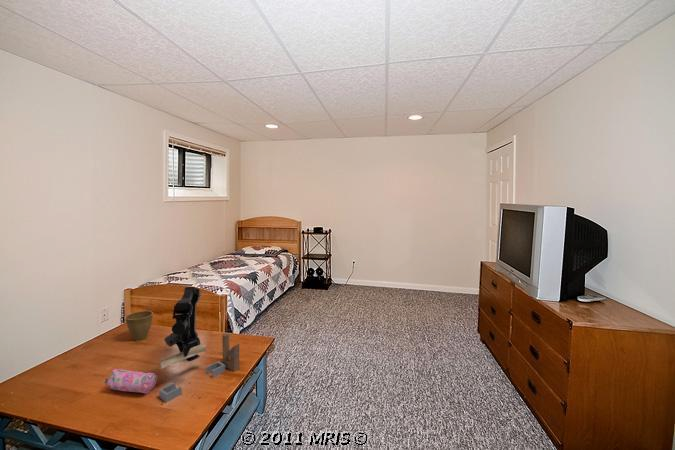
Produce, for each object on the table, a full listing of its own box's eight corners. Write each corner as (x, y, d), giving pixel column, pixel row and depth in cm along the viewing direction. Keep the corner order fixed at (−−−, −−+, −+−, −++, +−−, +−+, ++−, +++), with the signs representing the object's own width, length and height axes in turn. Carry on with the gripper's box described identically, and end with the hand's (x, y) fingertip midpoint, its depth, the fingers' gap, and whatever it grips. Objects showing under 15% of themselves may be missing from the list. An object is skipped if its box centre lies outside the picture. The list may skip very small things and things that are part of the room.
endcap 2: (225, 371, 152) (225, 365, 152) (213, 377, 146) (213, 371, 146) (218, 367, 156) (218, 361, 156) (206, 373, 150) (206, 366, 150)
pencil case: (104, 392, 133) (103, 374, 133) (122, 381, 142) (121, 363, 142) (143, 398, 130) (142, 379, 129) (159, 386, 139) (158, 368, 138)
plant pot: (141, 332, 197) (141, 309, 196) (158, 335, 193) (158, 312, 192) (120, 341, 183) (119, 317, 182) (138, 345, 179) (137, 320, 178)
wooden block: (234, 371, 152) (234, 339, 151) (220, 365, 157) (220, 334, 156) (239, 368, 155) (239, 336, 154) (226, 362, 160) (226, 331, 159)
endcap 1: (159, 396, 131) (159, 389, 131) (174, 388, 137) (174, 382, 137) (166, 402, 127) (165, 394, 127) (181, 394, 133) (181, 386, 133)
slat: (159, 366, 138) (159, 360, 138) (202, 348, 156) (202, 343, 156) (162, 368, 137) (161, 362, 136) (205, 350, 155) (205, 345, 154)
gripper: (157, 326, 144) (158, 356, 145) (176, 336, 134) (176, 368, 134) (180, 320, 153) (180, 348, 154) (199, 328, 143) (199, 358, 144)
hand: (183, 355), depth 146 cm, fingers closed on slat, 3 cm apart
